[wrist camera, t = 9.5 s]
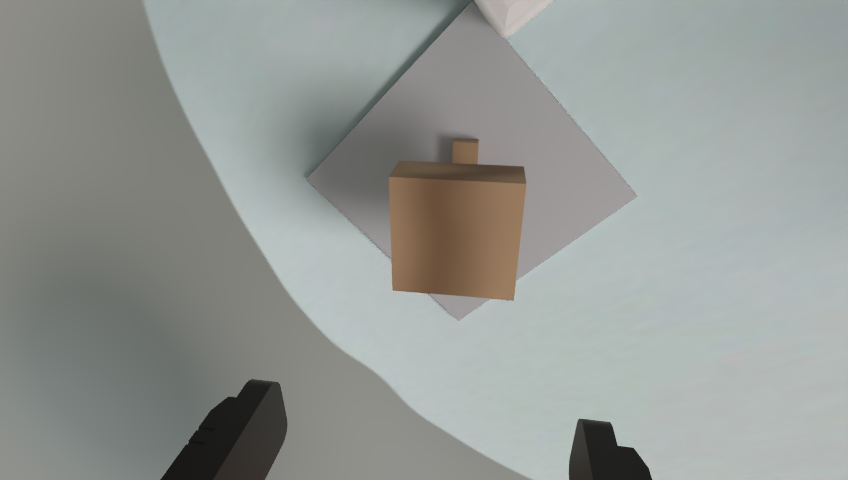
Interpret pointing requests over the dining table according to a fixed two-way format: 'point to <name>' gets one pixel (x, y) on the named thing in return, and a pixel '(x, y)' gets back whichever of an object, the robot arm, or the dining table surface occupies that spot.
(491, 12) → the blocky figurine
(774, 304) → the dining table surface
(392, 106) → the mat
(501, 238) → the wooden pedestal stool
